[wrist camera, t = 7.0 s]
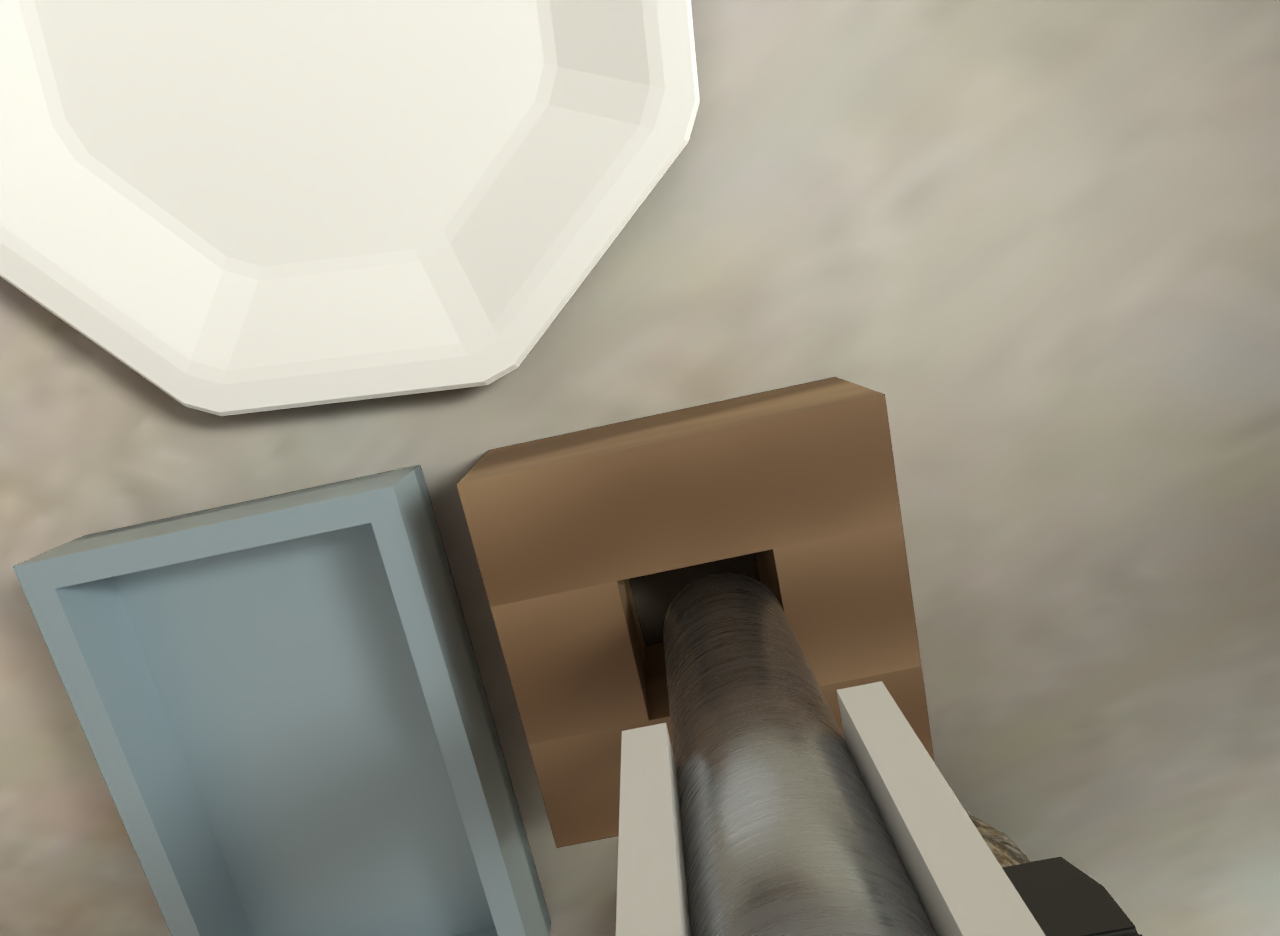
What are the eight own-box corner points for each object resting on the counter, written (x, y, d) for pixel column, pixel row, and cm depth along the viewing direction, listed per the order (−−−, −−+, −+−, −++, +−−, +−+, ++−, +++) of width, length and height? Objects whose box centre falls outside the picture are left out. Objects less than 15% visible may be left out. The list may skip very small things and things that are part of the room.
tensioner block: (488, 450, 21) (456, 484, 17) (834, 377, 20) (884, 394, 16) (568, 754, 23) (556, 847, 19) (882, 692, 23) (935, 773, 19)
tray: (83, 535, 21) (12, 566, 19) (419, 464, 21) (392, 486, 18) (261, 978, 24) (221, 1052, 22) (550, 922, 24) (542, 991, 22)
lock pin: (637, 576, 17) (645, 2025, 3) (785, 546, 17) (1612, 1919, 3) (666, 708, 18) (792, 2367, 4) (808, 681, 18) (1535, 2294, 3)
